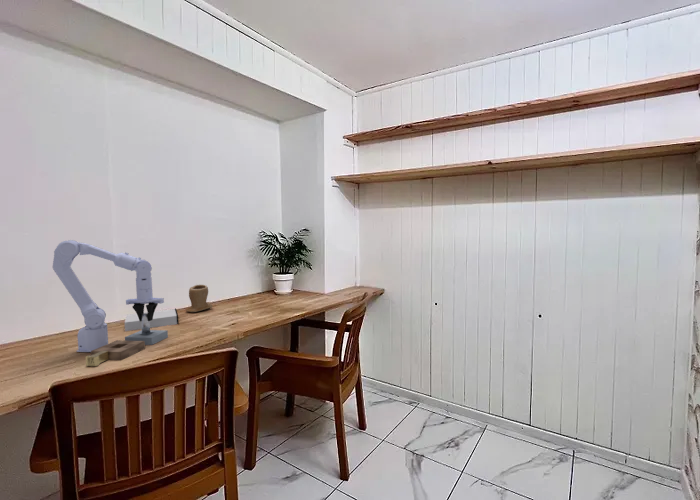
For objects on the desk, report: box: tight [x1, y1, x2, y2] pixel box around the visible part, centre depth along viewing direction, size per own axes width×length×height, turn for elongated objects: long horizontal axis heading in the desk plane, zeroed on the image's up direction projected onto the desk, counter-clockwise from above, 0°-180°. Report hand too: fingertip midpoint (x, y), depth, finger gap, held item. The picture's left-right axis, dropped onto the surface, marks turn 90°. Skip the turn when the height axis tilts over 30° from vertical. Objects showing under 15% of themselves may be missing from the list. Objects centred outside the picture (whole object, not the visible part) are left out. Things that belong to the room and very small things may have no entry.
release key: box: [85, 351, 109, 367], centre depth 121 cm, size 4×6×3 cm, turn 173°
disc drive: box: [124, 307, 179, 332], centre depth 172 cm, size 18×22×5 cm
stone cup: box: [184, 284, 214, 313], centre depth 198 cm, size 15×12×15 cm
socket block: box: [90, 339, 146, 361], centre depth 130 cm, size 12×12×3 cm
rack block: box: [124, 329, 169, 346], centre depth 145 cm, size 12×10×3 cm
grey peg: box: [141, 312, 151, 333], centre depth 144 cm, size 3×3×8 cm
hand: (146, 320), depth 144 cm, fingers closed on grey peg, 3 cm apart
